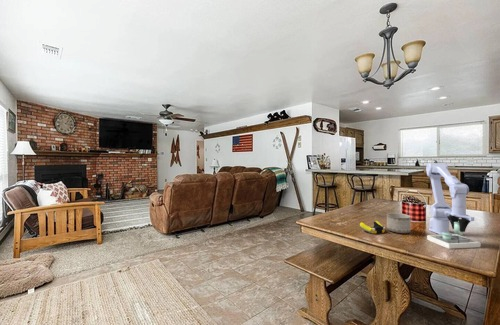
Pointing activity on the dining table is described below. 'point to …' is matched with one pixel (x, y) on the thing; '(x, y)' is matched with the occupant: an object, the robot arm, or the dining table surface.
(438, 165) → the robot arm
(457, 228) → the jaw peg
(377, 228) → the spring clamp
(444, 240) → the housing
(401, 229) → the planter
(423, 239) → the dining table surface
